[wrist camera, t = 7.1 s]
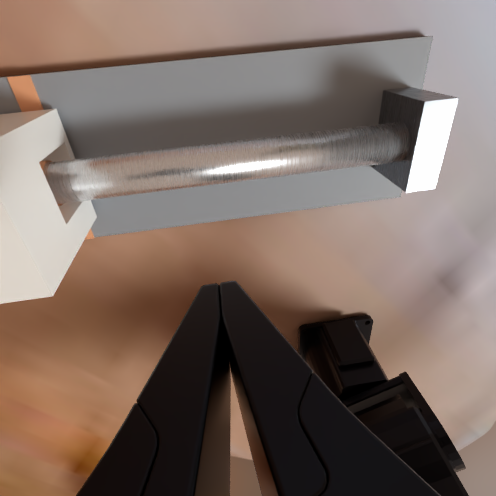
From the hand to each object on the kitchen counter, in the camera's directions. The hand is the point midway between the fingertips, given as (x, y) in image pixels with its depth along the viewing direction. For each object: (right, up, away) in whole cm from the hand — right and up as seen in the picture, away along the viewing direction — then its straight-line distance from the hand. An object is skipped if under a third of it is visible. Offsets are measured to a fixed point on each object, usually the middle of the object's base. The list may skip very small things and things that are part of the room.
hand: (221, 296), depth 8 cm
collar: (-11, +6, +10) cm, 16 cm away
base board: (-5, +7, +10) cm, 13 cm away
